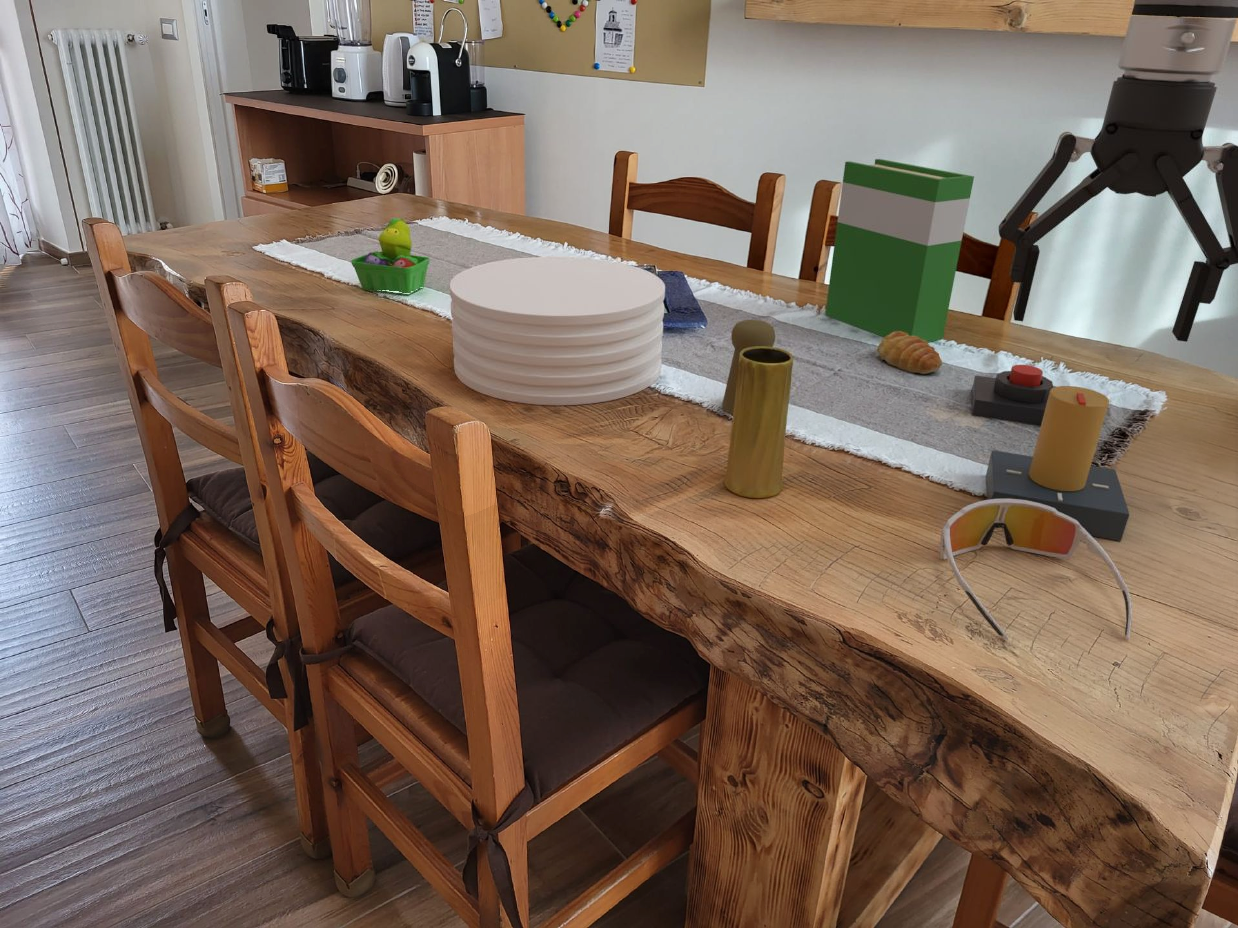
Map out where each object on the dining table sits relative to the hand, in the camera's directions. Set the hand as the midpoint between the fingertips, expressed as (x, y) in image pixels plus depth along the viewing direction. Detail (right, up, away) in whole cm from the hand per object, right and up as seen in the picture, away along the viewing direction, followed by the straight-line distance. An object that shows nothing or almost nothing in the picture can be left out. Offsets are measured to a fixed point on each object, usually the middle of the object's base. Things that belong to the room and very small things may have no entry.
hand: (1096, 327), depth 84 cm
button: (+6, -3, +29) cm, 30 cm away
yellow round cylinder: (0, -14, +7) cm, 16 cm away
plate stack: (-52, +1, +41) cm, 66 cm away
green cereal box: (-2, +9, +60) cm, 61 cm away
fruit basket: (-82, +17, +72) cm, 111 cm away
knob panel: (0, -17, +8) cm, 19 cm away
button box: (+6, -6, +31) cm, 32 cm away
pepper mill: (-28, -6, +29) cm, 41 cm away
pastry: (-3, +1, +45) cm, 45 cm away
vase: (-30, -15, +11) cm, 35 cm away
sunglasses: (-9, -24, -5) cm, 26 cm away
